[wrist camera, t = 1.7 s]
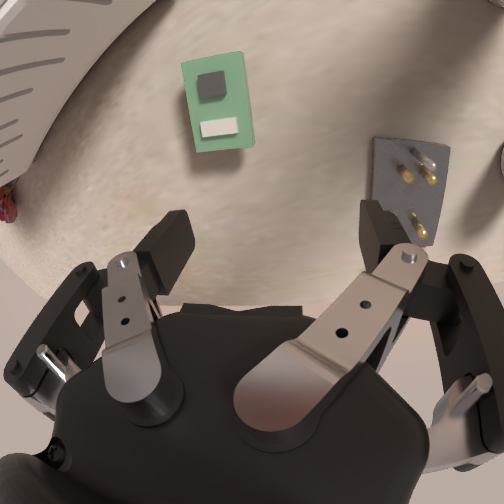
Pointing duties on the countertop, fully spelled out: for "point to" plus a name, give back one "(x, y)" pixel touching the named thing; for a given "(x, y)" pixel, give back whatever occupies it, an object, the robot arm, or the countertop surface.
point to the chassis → (411, 184)
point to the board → (219, 102)
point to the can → (502, 162)
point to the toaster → (48, 65)
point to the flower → (7, 204)
